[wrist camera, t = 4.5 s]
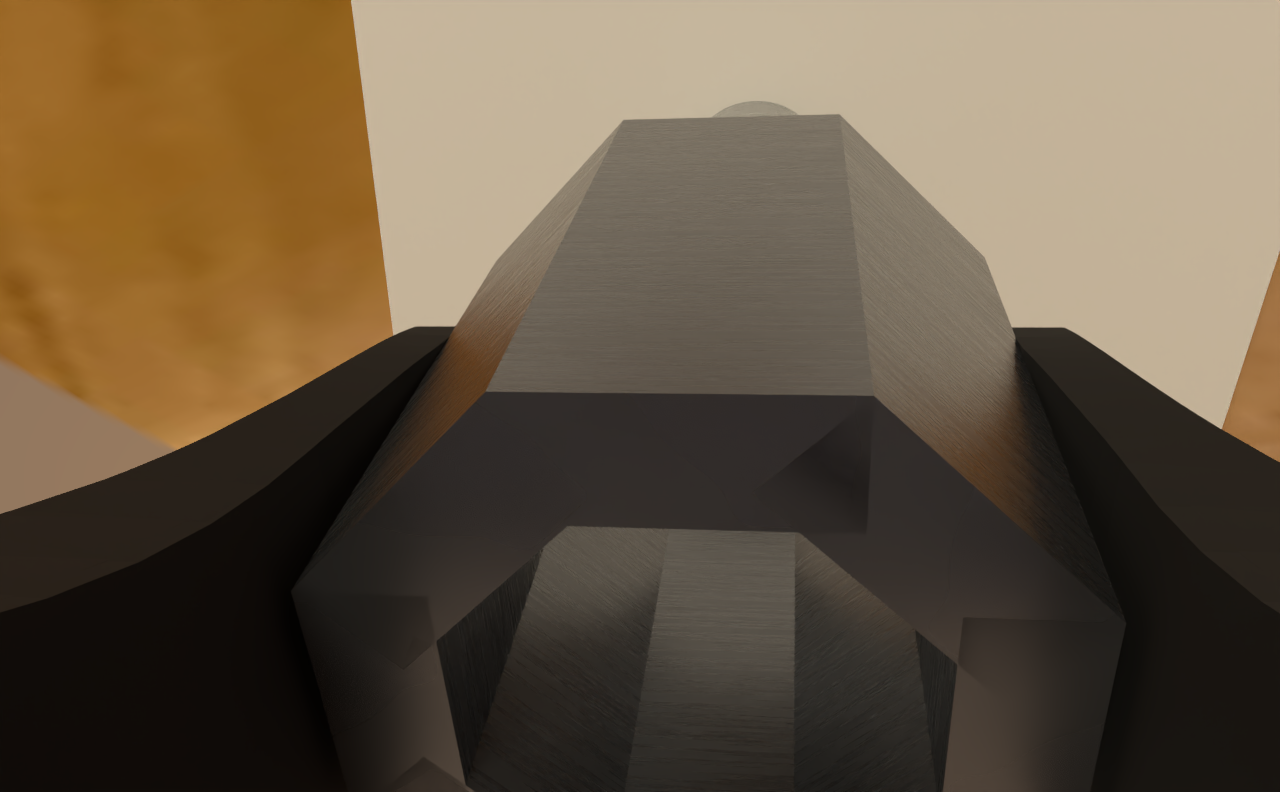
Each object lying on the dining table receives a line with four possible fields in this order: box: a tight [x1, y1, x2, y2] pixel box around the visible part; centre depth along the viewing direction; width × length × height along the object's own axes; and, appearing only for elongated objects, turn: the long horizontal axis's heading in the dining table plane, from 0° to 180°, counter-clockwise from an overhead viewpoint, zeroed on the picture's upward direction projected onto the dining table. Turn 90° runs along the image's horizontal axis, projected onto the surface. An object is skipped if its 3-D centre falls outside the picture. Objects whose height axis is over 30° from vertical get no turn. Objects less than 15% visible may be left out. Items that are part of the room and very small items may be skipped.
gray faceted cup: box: [291, 114, 1126, 792], centre depth 10 cm, size 6×6×6 cm
